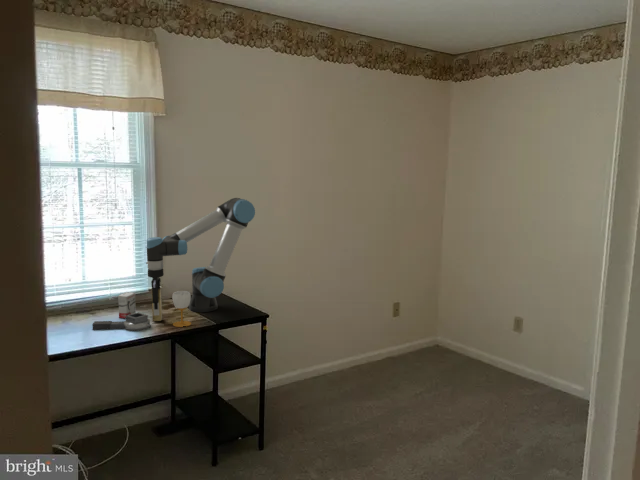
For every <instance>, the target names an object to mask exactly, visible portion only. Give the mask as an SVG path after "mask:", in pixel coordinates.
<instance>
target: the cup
mask: <svg viewBox="0 0 640 480" xmlns="http://www.w3.org/2000/svg"><path fill="white" fill-rule="evenodd" d="M191 298H192V294H191V291H187V290H177V291H174V292H172V295H171V299H172V303H173V305H174V307H175V309H176V310H177V311H180V321H175V322H173V323H172V326H174V327H176V328H184V327H183V326H186V327H189V326H191V325H192V322H190V321H187V320H183V319H184V318H183V313H184V312H183V311H184V310H186V309H187V308H189V304H190V301H191Z"/></svg>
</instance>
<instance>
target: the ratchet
mask: <svg viewBox="0 0 640 480" xmlns="http://www.w3.org/2000/svg"><path fill="white" fill-rule="evenodd" d="M148 316H149V315H148V314H146V313H143V312H140V311H139V312H136V313H134V314H130V315H126V318H125V320H123V321H121V320H120V321H118V320H117V321H113V320H98V321H97V320H95V321H93V322H92V325H91V326H92V331H95V330H96V331H97V330H99V331H100V330H101V331H102V330H103V331H104V330H124V331H127V332H141V331H146V330H147V329H149V328H150V327H151V320H150V319H149V318H148Z"/></svg>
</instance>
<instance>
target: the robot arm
mask: <svg viewBox="0 0 640 480" xmlns="http://www.w3.org/2000/svg"><path fill="white" fill-rule="evenodd" d="M255 215H256V209H255V205H254V204H253V203H252V202H250V201H249V200H247V199H245V198H241V197H233V198H230V199H229V200H227V201H225V202H224V203H222V204H220V205H218V206H217V207H216V209H215V210H212V211H211V212H210V213H208V214H207V215H204V216H203V217H201V218H199V219H198V220H196V221H194V222H192V223H191V224H188V225H187V226H185V227H183V228H181V229H180V230H178V231H176V232H174V233H173V234H171V235H166V236H164V237H163V238H162V237H158V236H155V237H154V236H153V237H148V238H147V239H146V259H147V261H146V265H147V276H148V277H149V278H152V280H151V283H150V284H151V304H152V303H153V310H154V315H159V301H158V289H159V288H161V278H162V277H163V276H164V257H169V256H170V257H172V256H184V255H186V254H187V253H188V243H189V242H190V241H192V240H194V239H196V238H197V237H199V236H201V235H203V234H205V233H206V232H208V231H210V230H211V229H213V228H216V227H217V226H219V225H220V224H222V223H226V225H225V228H224V230H223V231H222V234H221V236H220V239H219V242H218V244H217V246H216V249H215V251H214V253H213V256H212V258H211V260H210V263H209V265H208V266H201V267H200V266H199V267H198V266H197V267H194V268H192V271H191V276H192V277H191V281H192V286H191V288H192V289H191V290H192V291H191V292H192V294H191V300H190V304H189V306H188V308H189V310H190V311H191V312H197V313H207V312H213V311H216V310H217V309H218V302H217V301H218V300H217V297H219V296H220V295H221V294H222V293H223V290H224V288H225V284H224V282H225V278H226V277H227V275H226V272H225V271H226V269H227V267H228V264H229V262H230V259H231V257H232V255H233V252H234V250H235V248H236V245H237V243H238V240H239V238H240V235H241V234H242V232H243V230H244V229H247V228H248V225H249V223H250V222H251V221H253V220H254V217H255ZM161 300H162V297H161Z"/></svg>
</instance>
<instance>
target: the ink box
mask: <svg viewBox="0 0 640 480" xmlns="http://www.w3.org/2000/svg"><path fill="white" fill-rule="evenodd" d="M117 298H118V299H117V300H118V318H119V319H126V315H130V314H134V313H137V311H136V310H137V309H136V292H132V291H131V292H129V291H126V292H124V293H121V294H119V295H118V297H117Z"/></svg>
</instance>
